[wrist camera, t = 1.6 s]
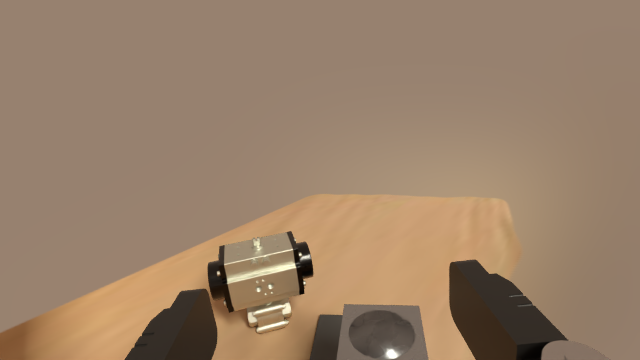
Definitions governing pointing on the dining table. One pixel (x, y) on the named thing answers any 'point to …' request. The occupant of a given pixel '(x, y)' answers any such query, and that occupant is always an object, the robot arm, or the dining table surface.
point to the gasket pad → (327, 338)
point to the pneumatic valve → (261, 278)
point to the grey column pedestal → (381, 333)
